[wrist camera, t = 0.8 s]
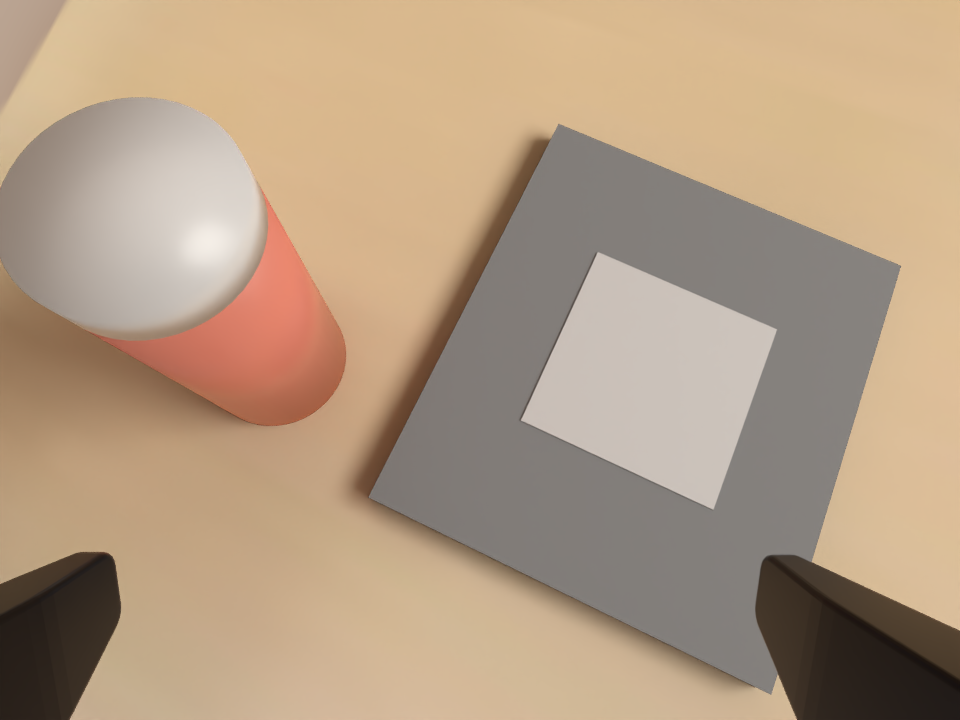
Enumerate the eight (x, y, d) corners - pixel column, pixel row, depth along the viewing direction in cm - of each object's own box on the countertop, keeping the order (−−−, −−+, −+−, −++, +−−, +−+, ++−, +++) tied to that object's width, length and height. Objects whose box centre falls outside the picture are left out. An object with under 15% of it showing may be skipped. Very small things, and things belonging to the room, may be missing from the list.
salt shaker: (303, 449, 22) (161, 363, 12) (180, 389, 23) (-61, 256, 12) (370, 327, 24) (296, 153, 13) (252, 273, 24) (90, 63, 14)
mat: (756, 687, 21) (772, 695, 20) (372, 499, 22) (367, 497, 21) (884, 276, 25) (902, 265, 24) (555, 139, 26) (558, 122, 25)
